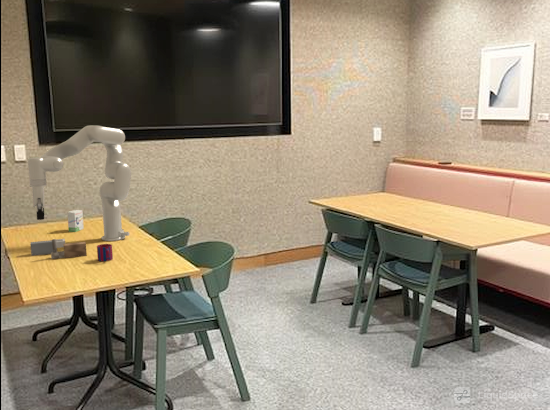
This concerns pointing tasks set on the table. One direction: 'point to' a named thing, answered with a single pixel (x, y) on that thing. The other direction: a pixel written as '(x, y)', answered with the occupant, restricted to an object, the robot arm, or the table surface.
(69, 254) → the walnut hinge leaf
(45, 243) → the charcoal hinge leaf
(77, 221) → the ink box
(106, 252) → the mug
